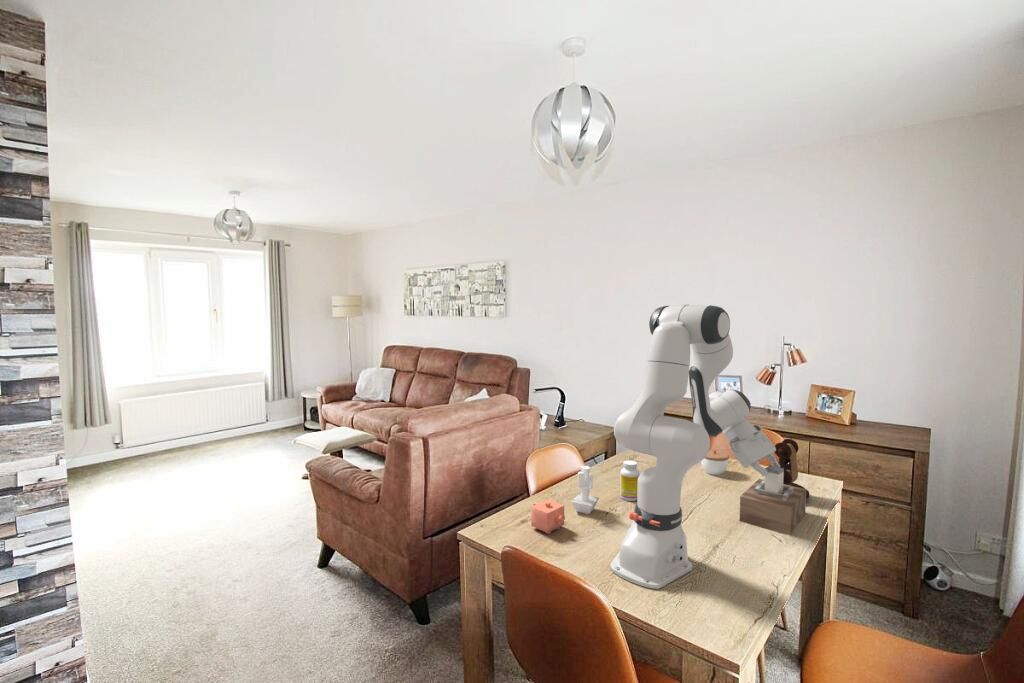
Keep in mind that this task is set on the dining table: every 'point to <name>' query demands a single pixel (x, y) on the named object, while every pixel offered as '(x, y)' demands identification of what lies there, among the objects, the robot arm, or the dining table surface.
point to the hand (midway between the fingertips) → (772, 471)
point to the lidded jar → (715, 462)
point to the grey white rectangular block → (774, 479)
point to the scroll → (788, 455)
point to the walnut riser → (773, 507)
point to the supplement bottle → (629, 481)
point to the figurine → (585, 492)
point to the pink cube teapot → (547, 516)
